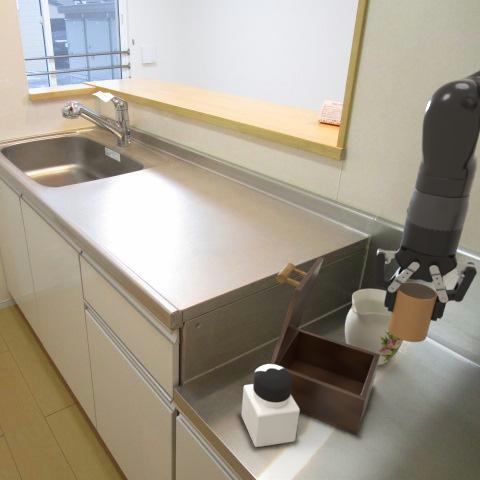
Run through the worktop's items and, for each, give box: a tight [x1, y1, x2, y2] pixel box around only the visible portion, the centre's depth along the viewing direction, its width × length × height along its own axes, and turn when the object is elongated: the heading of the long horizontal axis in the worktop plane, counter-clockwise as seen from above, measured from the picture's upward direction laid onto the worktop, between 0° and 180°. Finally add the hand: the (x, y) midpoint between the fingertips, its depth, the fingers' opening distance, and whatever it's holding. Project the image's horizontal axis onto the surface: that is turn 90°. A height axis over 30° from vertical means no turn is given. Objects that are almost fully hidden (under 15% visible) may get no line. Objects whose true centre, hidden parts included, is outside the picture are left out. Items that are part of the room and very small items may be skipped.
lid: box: [269, 256, 324, 364], centre depth 82 cm, size 16×14×5 cm
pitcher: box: [344, 288, 404, 366], centre depth 92 cm, size 11×18×14 cm, turn 122°
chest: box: [274, 327, 380, 436], centre depth 83 cm, size 16×14×8 cm
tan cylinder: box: [388, 281, 438, 343], centre depth 74 cm, size 6×6×8 cm
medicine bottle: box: [241, 363, 301, 448], centre depth 75 cm, size 7×7×12 cm
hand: (411, 313), depth 74 cm, fingers closed on tan cylinder, 5 cm apart
